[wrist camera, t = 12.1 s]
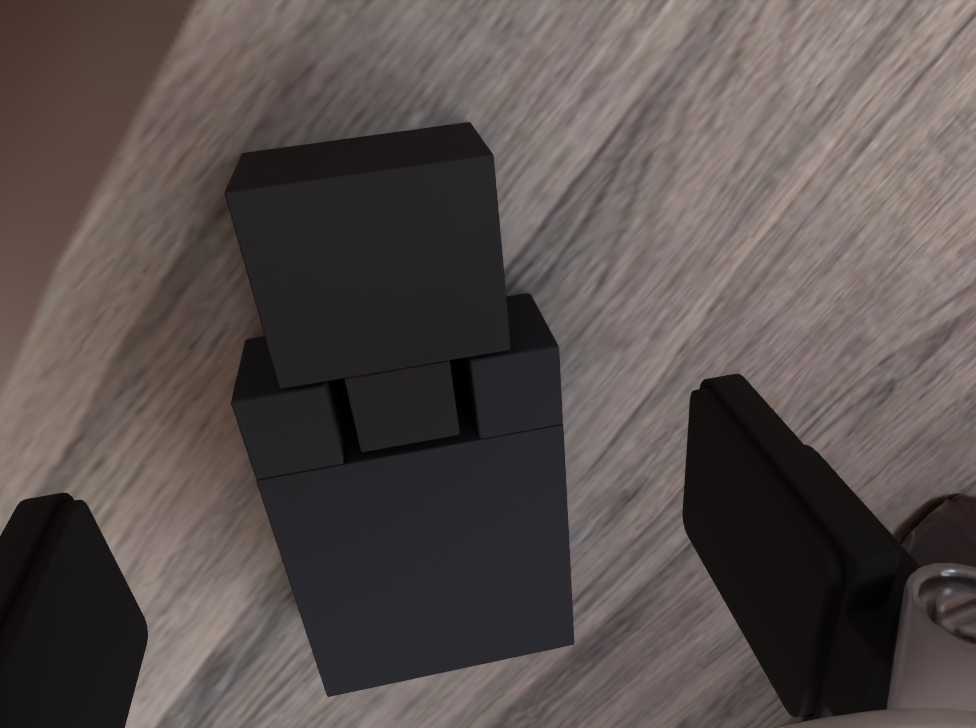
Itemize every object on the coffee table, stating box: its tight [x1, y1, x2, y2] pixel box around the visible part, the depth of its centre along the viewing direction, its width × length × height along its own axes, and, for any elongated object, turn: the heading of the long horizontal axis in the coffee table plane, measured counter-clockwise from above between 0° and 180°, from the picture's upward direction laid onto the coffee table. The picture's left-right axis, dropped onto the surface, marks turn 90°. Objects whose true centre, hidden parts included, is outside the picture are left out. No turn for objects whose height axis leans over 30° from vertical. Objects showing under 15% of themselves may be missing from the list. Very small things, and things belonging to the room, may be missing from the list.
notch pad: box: [231, 294, 574, 697], centre depth 27 cm, size 14×10×4 cm
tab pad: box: [225, 122, 511, 452], centre depth 23 cm, size 9×7×4 cm
